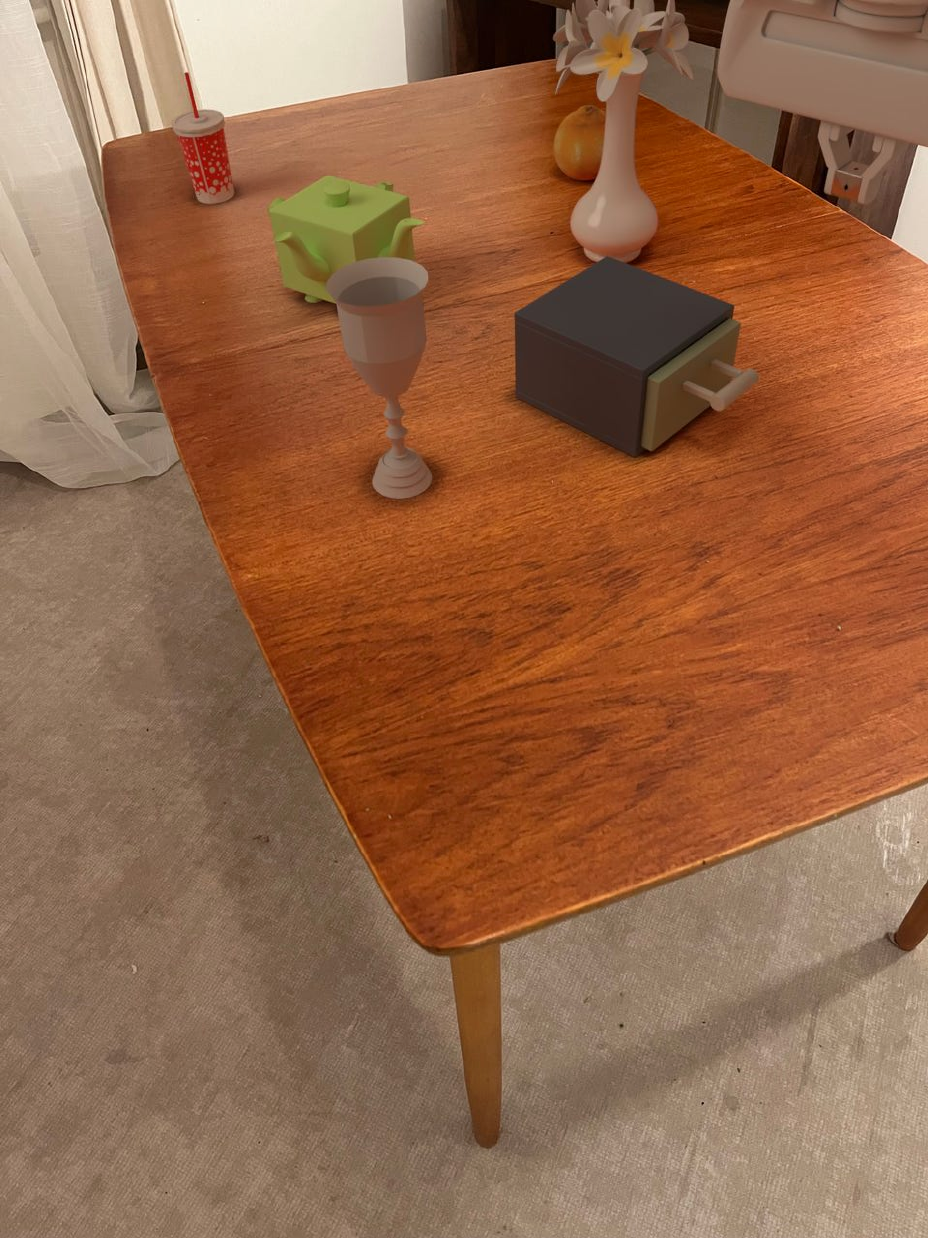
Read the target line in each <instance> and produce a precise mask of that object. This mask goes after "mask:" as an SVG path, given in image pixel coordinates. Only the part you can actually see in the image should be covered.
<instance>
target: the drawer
mask: <svg viewBox="0 0 928 1238" xmlns="http://www.w3.org/2000/svg"><path fill="white" fill-rule="evenodd" d="M741 325H742V323H741V322H740V321H739V320H735V319H733V318H732V319H730V318H729V319H727V320H726V321H725V322H723V323H722V324H721V325H719V326H718V327H716V328H715V329H714V330H712V331H711V332H710V333H709V331H708V332H707V333H706V334H704V335H703V336H701V337H700V338H699V339H697V340H696V341H694V342H693V343H692V344H690V345H689V346H688V347H686V348H685V349H683V350H682V353H681V354H679V355H678V356H676V357H675V358H674V359H672V360H671V361H670V362H668V363H667V364H665V365H664V366H663V367H661V368H660V369H659V370H657V371H656V372H654V373H653V374H652V375H650V376H649V377H648V379H647V389H646V398H645V408H644V418H643V427H642V437H641V447H643V448H645V450H648V451H649V452H653V451H654V450H656V449H657V448H658V447H660V446H662V445H663V443H665V442H666V441H667V440H668V439H670V438H671V437H672V436H673V435H675V434H676V433H677V432H679V431H680V430H681V429H683V428H684V427H685V426H686V425H687V424H689V423H690V422H691V421H693V420H694V419H695V418H697V417H698V416H699V415H700V414H702V413H703V412H704V411H706V410H707V409H709V407H711V408H712V409H713V410H714V411H715V412H723V411H724V410H726V409H727V408H728V407H729V406H730V405H732V404H733V403H735V401H736V400H738V399H739V398H741V396H743V395H744V394H745V393H747V392H748V391H749V390H750V389H751V388H753V387H754V386H755V385H756V384H758V382H759V381H760V374H759V372H758V371H757V370H756V369H754V368H746V369H745V370H742V369H740V368H738V367H735V366H734V364H735V359H736V354H737V348H738V343H739V337H740V332H741V331H740V330H741Z"/></svg>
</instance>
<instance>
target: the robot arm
mask: <svg viewBox="0 0 928 1238" xmlns="http://www.w3.org/2000/svg"><path fill="white" fill-rule="evenodd" d="M720 41H721V42H720V48H719V55H718V63H717V79H718V81H719V82H718V83H719V84H720V86H721V89H722V91H723V93H724V95H725V96H726V97H728V98H731V99H735V100H738V101H743V102H747V103H751V104H755V105H758V106H762V107H766V108H770V109H775V110H779V111H783V112H787V113H791V114H795V115H799V116H802V117H806V118H811V119H814V120H819V121H820V123H819V129H818V133H817V139H818V143H819V145H820V146H819V147H820V149H821V152H822V153H821V154H822V156H823V158H824V162H825V166H826V167H827V168H828V170H827V174H826V178H825V184H824V187H823V188H824V189H823V192H824V194H826V195H829V196H833V197H837V198H841V199H844V200H848V201H850V202H854V203H856V204H860V205H864V206H867V205H869V204H870V203H871V202H873V201H874V200H875V199H876V198H877V196H878V194H879V193H880V192H879V191H880V187H881V184H882V179H883V176H884V173H885V171H887V170H888V169H889V168H890V166H891V165H892V164H893V163H894V162H895V161H896V160H897V159H898V158H899V157H900V156H901V155H902V153H903V152H905V150H907V148H908V147H909V146H910V144H912V145H917V146H920V147H924V148H928V0H729V3H728V7H727V11H726V16H725V21H724V25H723V30H722V36H721V40H720ZM854 130H856V131H857V130H858V131H861V132H866V133H870V134H873V135H874V139H873V143H872V147H871V150H872V151H873V152H874V153H879V155H878V156H877V157H876V158H875V159H874V160H873V162H872V163H871V164H870V165H868V164H865V163H860V162H857V161H854V160H853V158H852V153H851V148H850V143H849V139H848V138H849V137H848V134H850V133H851V132H853V131H854Z"/></svg>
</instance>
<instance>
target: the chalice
mask: <svg viewBox="0 0 928 1238" xmlns="http://www.w3.org/2000/svg"><path fill="white" fill-rule="evenodd" d="M429 280H430V279H429V272H428V271H427V269H426V268H425V267H423V265H422V264H419V262H418V263H417V262H416V261H415V262H413V261H411V260H407V259H402V258H392V257H380V258H371V259H365V260H362V261H358V262H354V263H351V264H349V265H347V266H344V267H342V268H340V269H339V270H338V271H336V272H335V273H334V274H332V275H331V277H330V278H329V280H328V281H327V292H328V293H329V294H330V296H331V297H332V298H333V300H334V301H335V302H336V309H337V317H338V322H339V330H340V334H341V341H342V347H343V351H344V352H345V354H346V356H347V358H348V359H349V361H350V363H351V364H352V366H353V367H354V370H355V371H356V372H357V374H358V375H359V376H360V377H361V379H362V380H363V381H364V383H365V384H366V385H367V386H368V388H369V389H370V390H371V391H372V392H373V394H374V395H375V396H377V397H380V398H385V401H386V404H385V410H384V411H383V416H384V417H385V418H386V420H387V421H388V428H387V429H385V432H384V434H385V436H386V437H387V438H388V439H389V440H390V442H391V448H389V449H388V450H386V451H385V452H384V453H383V454H382V455H381V456H380V458H379V460H378V462H377V466H376V468H375V471H374V474H373V477H372V487H373V488H374V490H375V492H377V494H380V495H381V496H383V497H386V498H389V499H398V500H403V499H410V498H413V497H417V496H419V495H421V494H422V493H423V492H425V491H426V490H427V489H428V488H429V487H430V486H431V484H432V482H433V472H432V471H431V470H430V468H429V467H428V466H427V464H426V462H425V460H424V459H423V458H422V457H423V456H421V454H420V453H419V452H417V451H415V450H414V449H413V448H411V447H407V446H405V444H404V442H405V437H406V436H407V434H408V433H409V432H408V428H407V427H405V426H403V425H404V424H403V423H402V418H403V416H404V414H405V410H404V408H402V407H401V403H400V401H399V397H400V396H402V395H404V394H405V393H407V391H408V390H409V388H410V386H411V384H412V381H413V380H414V377H415V375H416V373H417V371H418V368H419V366H420V364H421V361H422V357H423V354H424V352H425V348H426V344H427V341H428V340H427V330H426V329H427V328H426V319H425V318H426V317H425V307H424V296H423V294H424V291H425V289H426V287H427V284H428V283H429Z"/></svg>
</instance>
